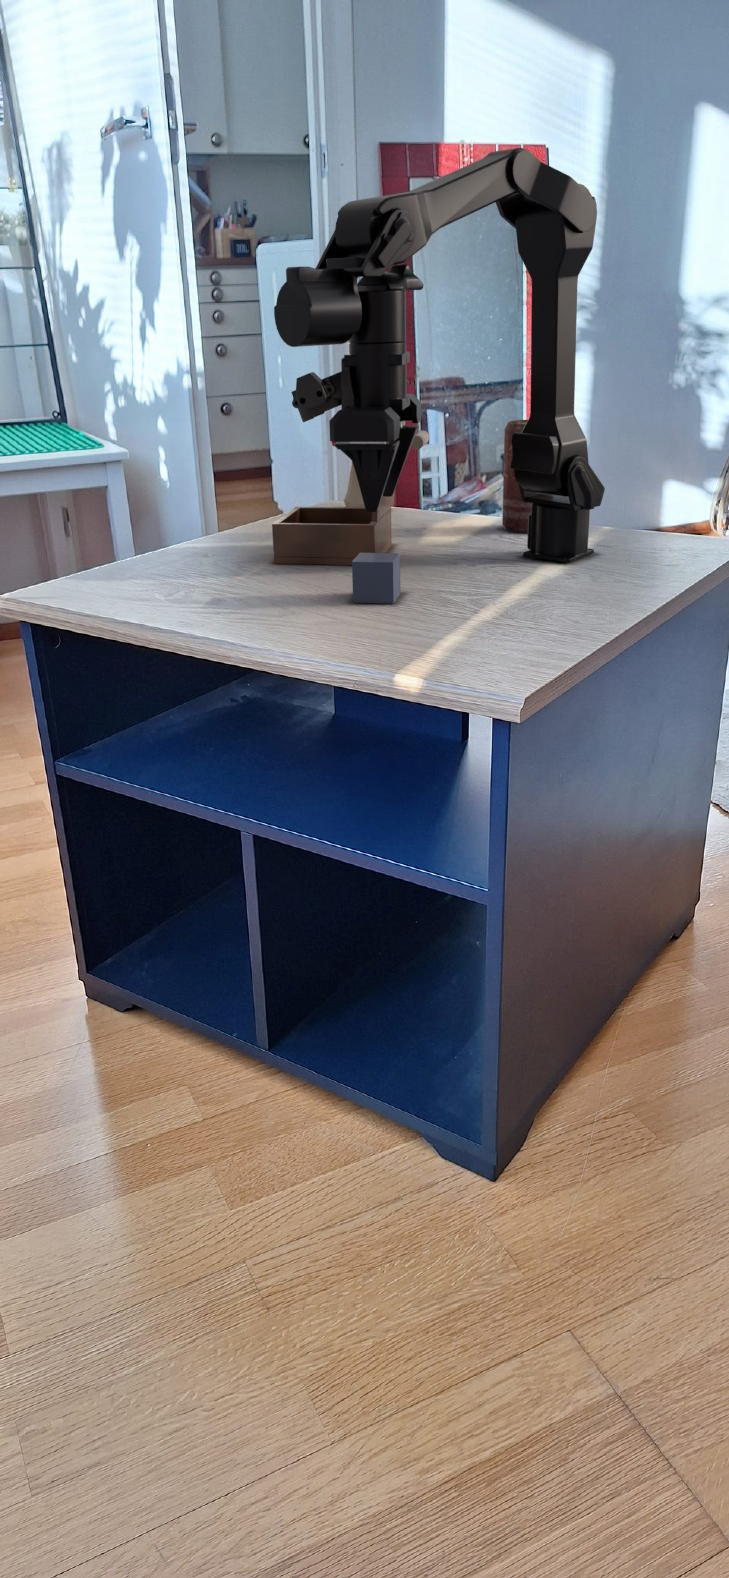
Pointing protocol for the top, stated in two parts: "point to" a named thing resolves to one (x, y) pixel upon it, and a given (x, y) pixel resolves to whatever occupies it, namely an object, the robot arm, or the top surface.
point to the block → (376, 578)
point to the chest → (329, 535)
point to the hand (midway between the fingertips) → (379, 504)
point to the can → (513, 487)
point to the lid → (388, 502)
